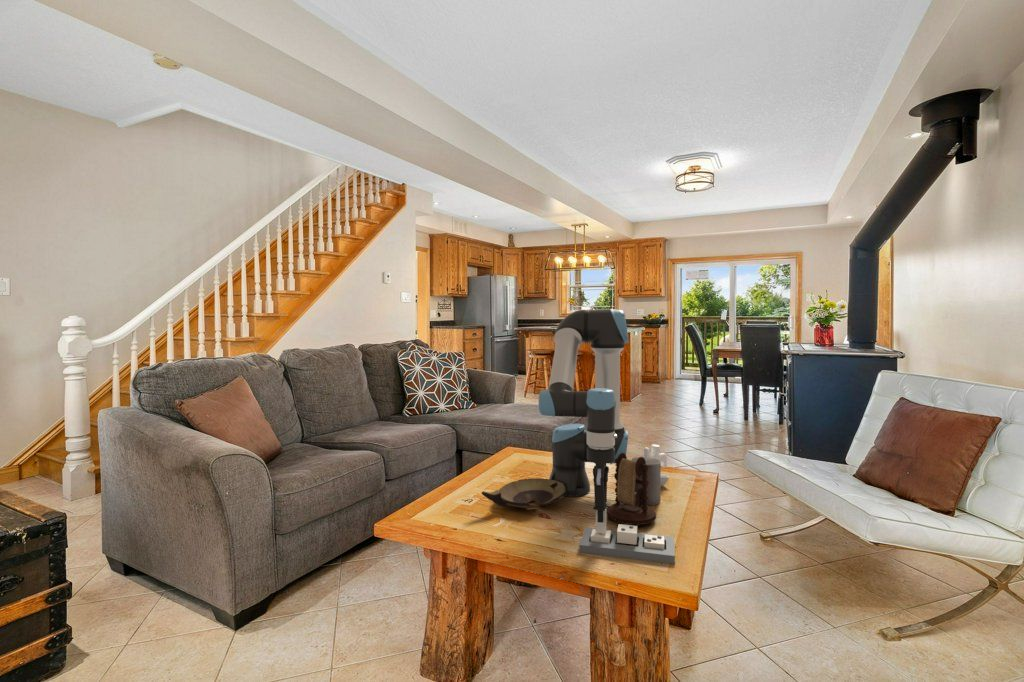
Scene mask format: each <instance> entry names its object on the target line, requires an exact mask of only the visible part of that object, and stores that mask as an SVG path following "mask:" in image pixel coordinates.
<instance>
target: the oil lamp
mask: <svg viewBox="0 0 1024 682" xmlns="http://www.w3.org/2000/svg"><path fill="white" fill-rule="evenodd" d="M553 486H556V487H555V488H552V487H553ZM565 493H566V487H565V483H561V482H559V481H558V480H551V479H549V478H543V477H542V478H538V477H536V478H534V477H532V478H523V479H518V480H515V481H510V482H508V483H506V484H505V485H503V486H502V487H500V489H496V490H494V491H491V492H488V491H481V495H482V496H483V497H485V498H486V499H488V500H490V501H491V502H493V503H494V504H496V505H497V506H498V507H501V508H505V507H508V506H509V507H516V508H520V509H532V508H533V509H534V508H538V507H544V506H549V505H550V504H553V503H555V502H557V501H559V500H561V499H562V498H563V497H565V496H564V494H565ZM532 502H534V503H532Z"/></svg>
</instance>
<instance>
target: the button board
mask: <svg viewBox="0 0 1024 682" xmlns="http://www.w3.org/2000/svg"><path fill="white" fill-rule="evenodd" d="M593 529H596V527H591V526H585V528H584V530H583V533H582V537H581V538H580V539H581V540H580V542H579V545H578V546H579V547H578V548H579V549H578V551H579V553H582V554H591V555H599V556H608V557H613V558H614V557H616V558H621V559H622V558H624V559H631V560H640V561H641V560H642V561H647V562H649V561H650V562H657V563H658V562H659V563H665V564H676V552H675V550H676V549H675V539H674V538H675V536H674V535H667V534H666V535H665V534H658V533H657V534H656V533H648V532H647V533H646V532H638V531H637V546H636V545H630V544H627V545H626V544H621V543H617V529H611V528H610V529H609V528H606V530H609V531H611V543H602V542H593V541H591V533H592V530H593ZM645 534H647V535H656V536H664V549H655V548H646V547H644V540H645Z"/></svg>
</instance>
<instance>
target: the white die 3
mask: <svg viewBox="0 0 1024 682" xmlns="http://www.w3.org/2000/svg"><path fill="white" fill-rule="evenodd" d="M643 547H646V548H655V549H664V550H665V547H664V536H656V535H647V534H645V540H644V545H643Z"/></svg>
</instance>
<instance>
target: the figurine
mask: <svg viewBox="0 0 1024 682" xmlns="http://www.w3.org/2000/svg"><path fill="white" fill-rule="evenodd" d="M650 446H651V449H650V448H649V447H644V448H643V457H645V456H646V457H652V458H655V459H658V460H660V461H661V467H662V468H665V469H666V468H667V465H668V464H667V462H668V458H667V457H668V456H667V454H666V453H665V452H661V453H660V450H661V449H660V448H661V446H660V445H659V444H656V443H653V444H651V445H650ZM650 452H651V453H650ZM660 477H661V487H665V485H666V484H667V482H668V481H669V479H670V475H669V476H668V475H666V474H664V473H662V472H661V476H660Z"/></svg>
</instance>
